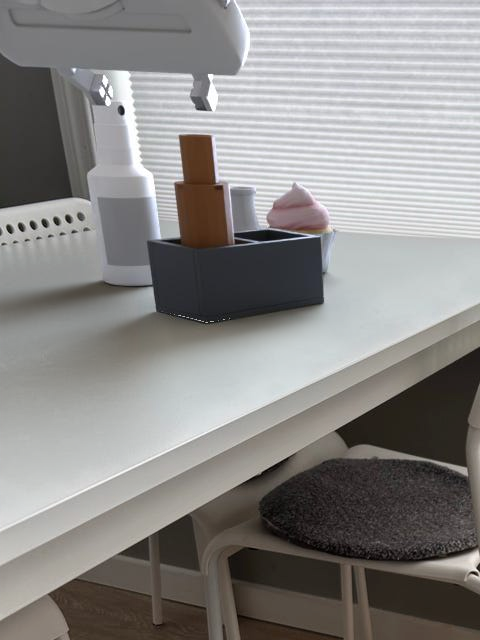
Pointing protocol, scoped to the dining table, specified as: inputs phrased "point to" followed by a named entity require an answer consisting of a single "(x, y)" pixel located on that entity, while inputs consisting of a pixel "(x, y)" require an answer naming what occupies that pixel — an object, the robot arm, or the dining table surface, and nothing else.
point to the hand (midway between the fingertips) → (155, 102)
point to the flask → (243, 208)
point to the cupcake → (303, 218)
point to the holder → (237, 275)
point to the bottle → (202, 195)
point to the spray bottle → (121, 200)
